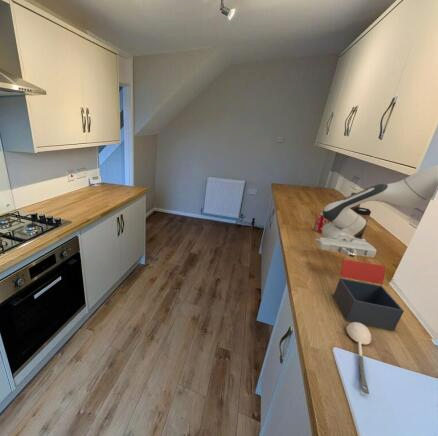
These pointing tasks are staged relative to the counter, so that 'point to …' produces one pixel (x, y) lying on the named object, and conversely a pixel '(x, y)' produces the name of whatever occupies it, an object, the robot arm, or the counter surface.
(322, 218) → the soda can
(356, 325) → the beige and grey spoon
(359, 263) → the lid
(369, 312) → the carton
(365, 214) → the travel mug
